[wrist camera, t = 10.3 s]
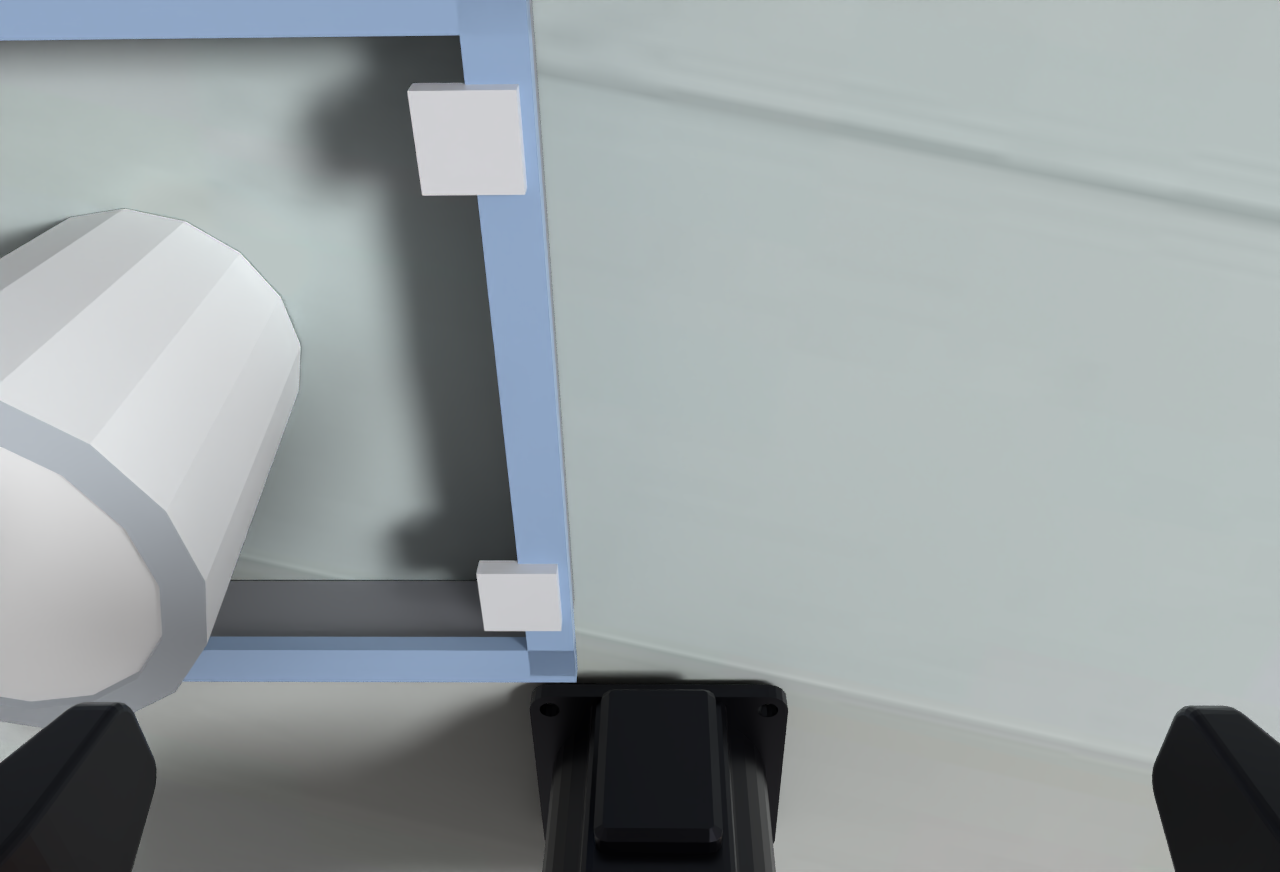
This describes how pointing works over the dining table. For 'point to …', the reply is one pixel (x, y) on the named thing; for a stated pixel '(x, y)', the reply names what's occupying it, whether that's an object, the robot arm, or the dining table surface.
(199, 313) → the light grey cup
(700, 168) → the dining table surface
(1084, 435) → the dining table surface
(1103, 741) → the dining table surface
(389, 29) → the two-slot open tray
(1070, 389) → the dining table surface
